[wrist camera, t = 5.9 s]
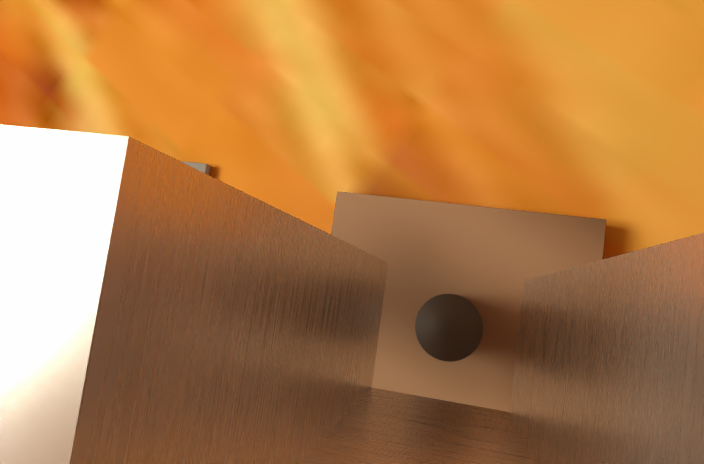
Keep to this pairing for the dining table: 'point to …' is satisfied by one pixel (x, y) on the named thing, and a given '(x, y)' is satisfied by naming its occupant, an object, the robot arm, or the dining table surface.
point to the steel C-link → (297, 333)
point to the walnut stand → (457, 287)
